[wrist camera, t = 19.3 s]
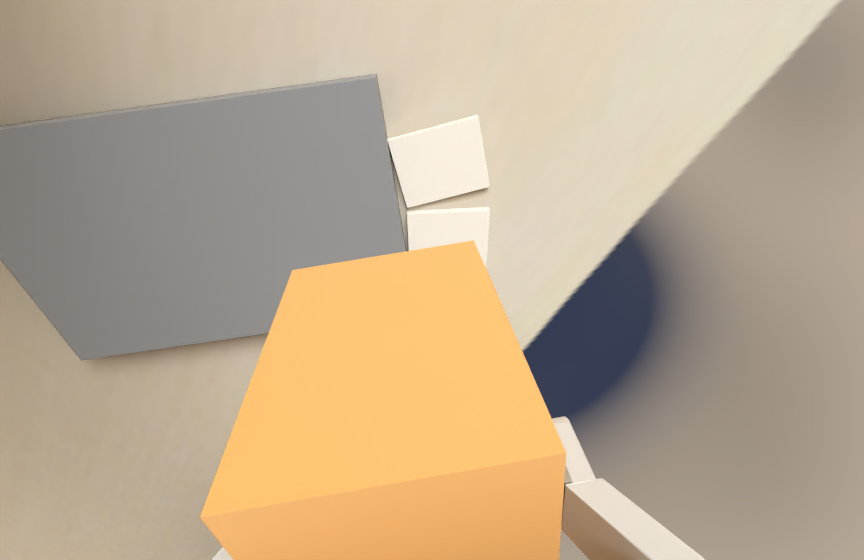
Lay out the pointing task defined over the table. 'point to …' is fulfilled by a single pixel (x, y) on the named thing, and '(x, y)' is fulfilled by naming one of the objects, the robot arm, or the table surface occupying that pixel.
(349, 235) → the board
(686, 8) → the table surface
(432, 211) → the mark
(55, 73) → the table surface
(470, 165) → the mark
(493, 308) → the block
